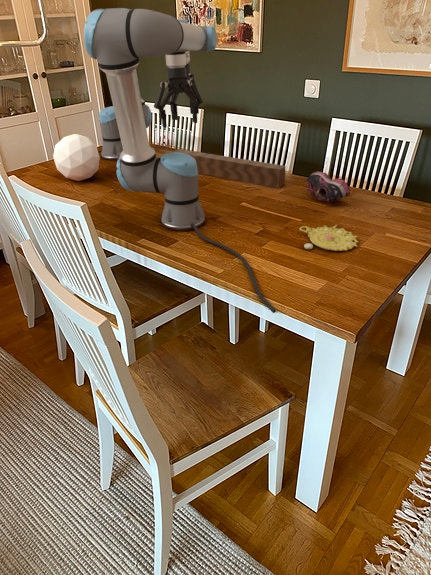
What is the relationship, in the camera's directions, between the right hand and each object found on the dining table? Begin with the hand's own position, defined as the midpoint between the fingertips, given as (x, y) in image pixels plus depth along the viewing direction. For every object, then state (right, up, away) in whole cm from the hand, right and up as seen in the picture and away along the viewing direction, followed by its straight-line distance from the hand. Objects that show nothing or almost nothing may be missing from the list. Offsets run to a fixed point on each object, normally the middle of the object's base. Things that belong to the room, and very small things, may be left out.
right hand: (180, 124), depth 180 cm
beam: (+19, -17, +17) cm, 31 cm away
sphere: (-46, -17, +19) cm, 53 cm away
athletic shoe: (+56, -32, -8) cm, 65 cm away
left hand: (+1, +9, +15) cm, 17 cm away
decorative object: (+51, -51, -38) cm, 81 cm away
